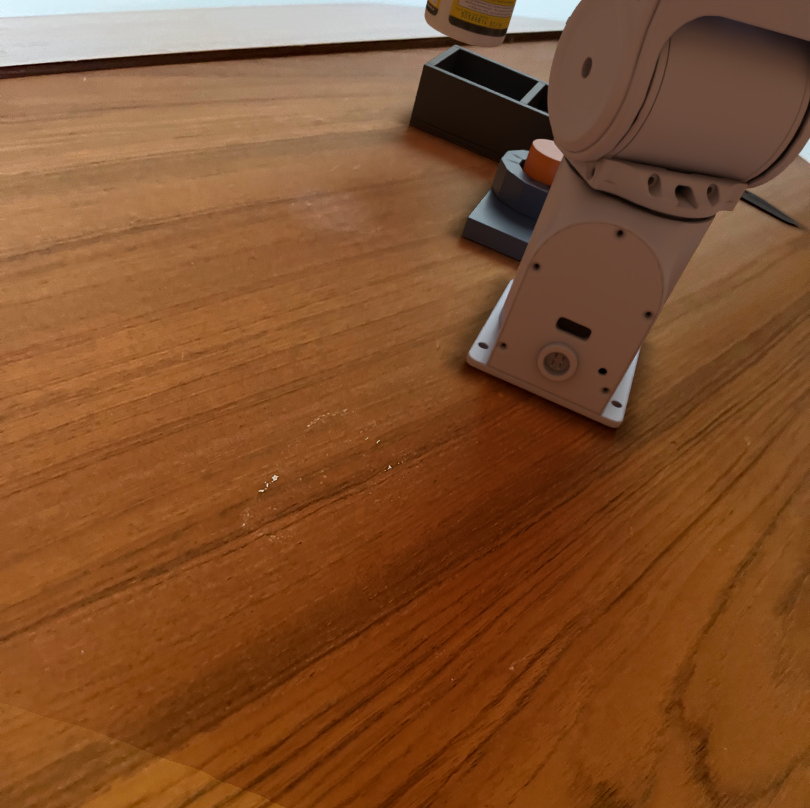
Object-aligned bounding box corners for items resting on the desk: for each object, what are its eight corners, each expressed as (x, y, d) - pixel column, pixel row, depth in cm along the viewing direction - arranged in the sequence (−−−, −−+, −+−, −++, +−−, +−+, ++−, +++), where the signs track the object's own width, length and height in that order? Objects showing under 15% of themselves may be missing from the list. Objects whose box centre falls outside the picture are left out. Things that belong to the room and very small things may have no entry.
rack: (594, 203, 54) (620, 146, 51) (408, 124, 55) (423, 64, 52) (609, 171, 59) (633, 118, 57) (440, 99, 60) (455, 44, 57)
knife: (798, 230, 62) (801, 219, 64) (802, 225, 62) (804, 214, 64) (629, 150, 64) (637, 142, 66) (632, 145, 64) (639, 136, 66)
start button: (564, 197, 46) (576, 168, 45) (517, 176, 46) (527, 147, 45) (573, 181, 48) (585, 153, 47) (528, 161, 49) (538, 133, 47)
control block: (583, 288, 45) (606, 241, 42) (460, 235, 45) (476, 186, 43) (607, 232, 51) (627, 188, 49) (499, 186, 52) (515, 141, 49)
